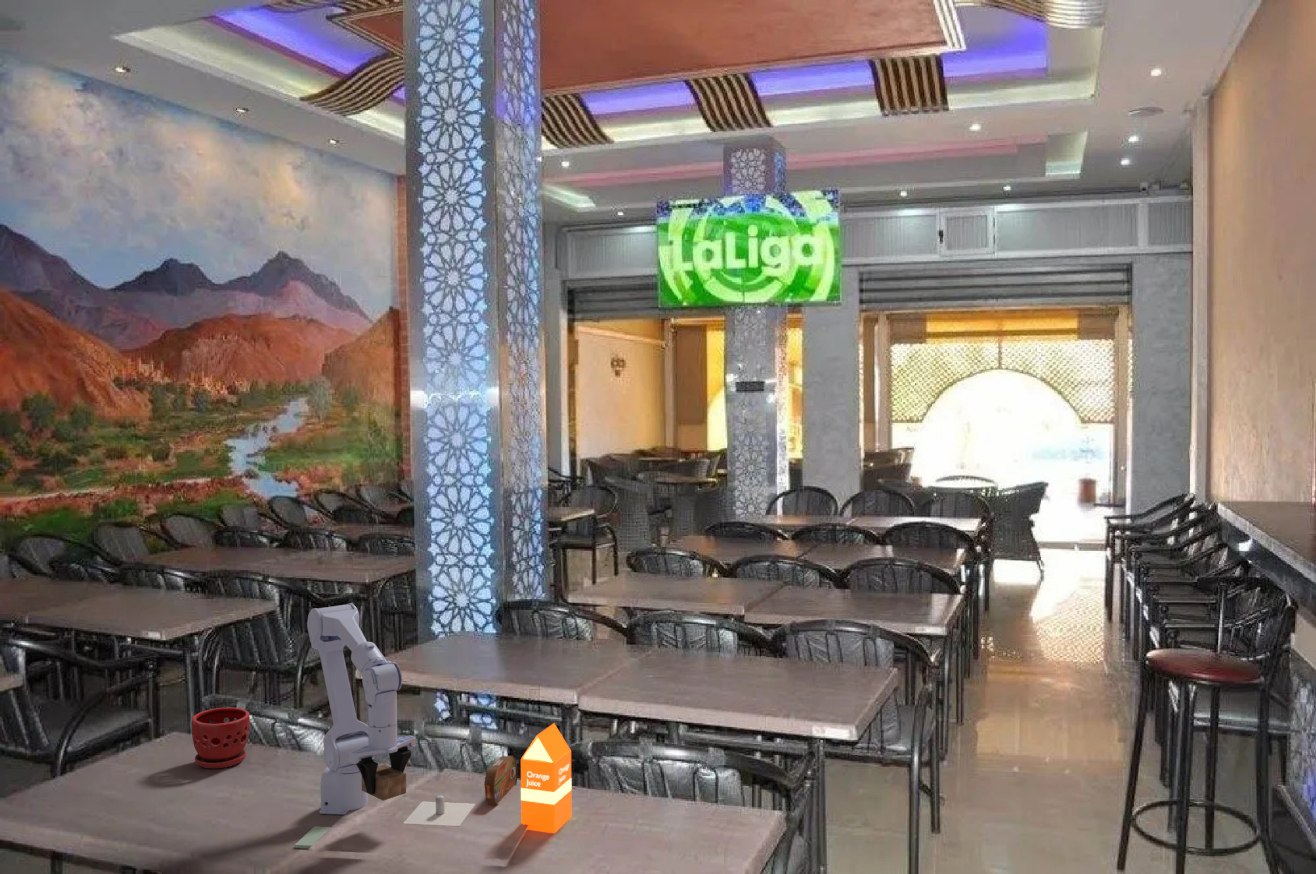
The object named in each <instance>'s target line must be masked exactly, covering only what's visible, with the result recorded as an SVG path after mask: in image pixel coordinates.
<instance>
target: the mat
mask: <svg viewBox="0 0 1316 874" xmlns="http://www.w3.org/2000/svg"><path fill="white" fill-rule="evenodd" d="M331 828H332V827H331V826H313V827H312V828H311V829H310V830H309V831H308V832H307V833H306V834H304V835H303V837H302V838H300V839H299V840H298V841H297V842H296V843H295V844H294V848H295V849H311V847H313V846H314V845H315V844H316V843H317V842H318V841H319V840H320V839H321V838H322V837H323V836H324V835H325V834H326V833H327V832H328V831H329V830H330V829H331Z"/></svg>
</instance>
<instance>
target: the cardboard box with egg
mask: <svg viewBox="0 0 1316 874" xmlns="http://www.w3.org/2000/svg"><path fill="white" fill-rule="evenodd" d="M362 791H364V792H366V793H367V791H366V787H365V783H364V780H363V777H362ZM405 794H407V773H405V772H400V771H398V770H396V769H393V768H391V766H388V765H386V764H381V765H379V766H378V767H377V771H376V789H375V794H372V795H371V794H369V793H368V795H370V796H373V797H374V798H376V799H378V800H380V801H386V800H389V799H393V798H396V797H400V796H401V795H405Z"/></svg>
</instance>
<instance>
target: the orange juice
mask: <svg viewBox="0 0 1316 874" xmlns="http://www.w3.org/2000/svg"><path fill="white" fill-rule="evenodd" d="M572 780H573V779H572V750H571V748H570V747H569V745H568V744H567V742H566V740H565V738H564V736H563V735H562V734H561V732H560V730H559V729H558V727H557V725H556V723H555V722H554V723H552V724H551V725H549V726H548V727H546V728H545V729H544V730H542V731H541V732H540V733H537V735H535V738H534V739H533V740H532V742H531V743H530V745H529V746H528V748H527V749H526V751H525V752H524V754H523V755H522V757H521V759H520V803H521V805H520V806H521V807H520V808H521V809H520V811H521V816H520V817H521V818H520V820H521V821H520V823H521V824H522V825H524V826H525V825H527V826H526V828H525V830H527V831H528V830H529V831H534V832H541V833H548V834H556V833H557V832H558V831H559V830H560V829H561V828H562V827H564V825H566V823H568V821H570V820H571V819H572V817H573V816H572V812H573V811H572V787H573V786H572Z"/></svg>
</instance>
